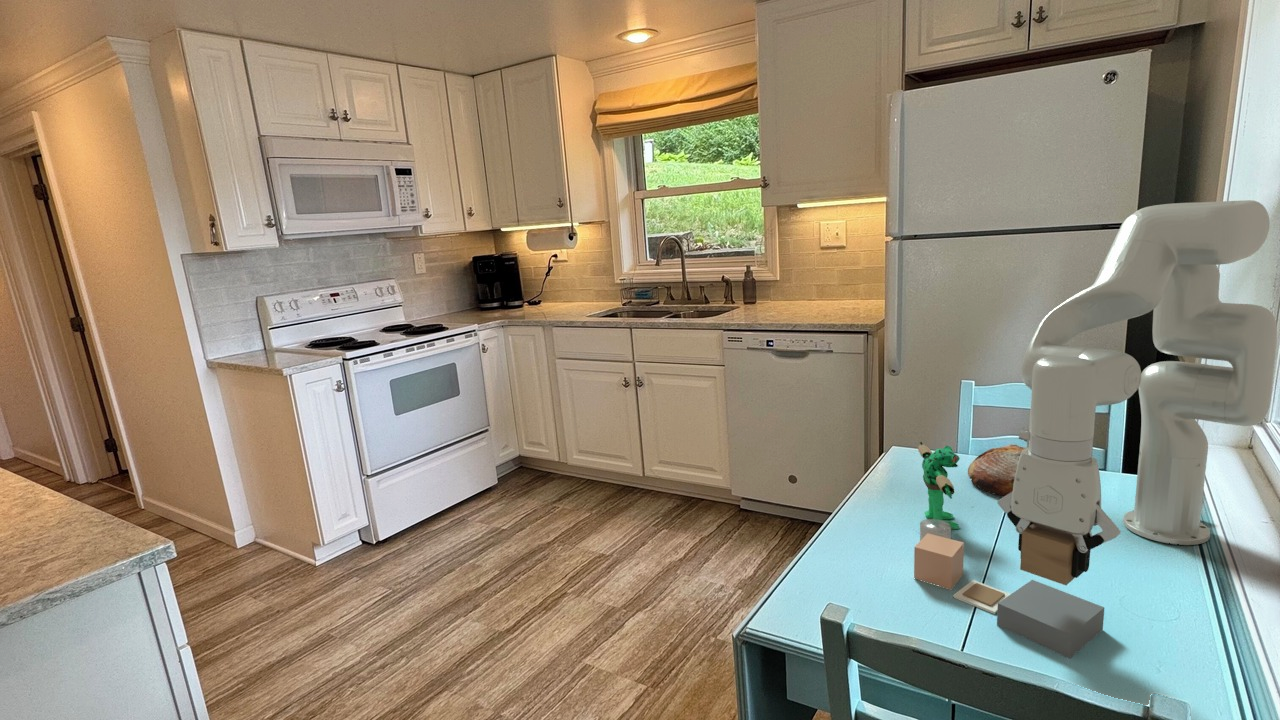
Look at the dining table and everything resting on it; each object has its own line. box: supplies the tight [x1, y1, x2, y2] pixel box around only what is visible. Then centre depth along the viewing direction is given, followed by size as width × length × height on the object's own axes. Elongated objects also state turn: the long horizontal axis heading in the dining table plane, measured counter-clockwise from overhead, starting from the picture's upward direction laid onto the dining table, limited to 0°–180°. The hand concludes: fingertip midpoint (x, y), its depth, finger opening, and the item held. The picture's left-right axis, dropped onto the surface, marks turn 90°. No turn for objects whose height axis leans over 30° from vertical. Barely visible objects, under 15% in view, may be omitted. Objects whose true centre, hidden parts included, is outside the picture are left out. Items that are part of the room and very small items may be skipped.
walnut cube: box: [1019, 523, 1076, 586], centre depth 95 cm, size 6×6×6 cm
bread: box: [967, 443, 1027, 498], centre depth 145 cm, size 16×20×10 cm
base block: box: [996, 579, 1105, 659], centre depth 98 cm, size 10×10×4 cm
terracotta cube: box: [913, 533, 965, 590], centre depth 113 cm, size 6×6×6 cm
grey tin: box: [919, 518, 952, 542], centre depth 119 cm, size 5×5×6 cm
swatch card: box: [952, 579, 1012, 615], centre depth 106 cm, size 6×6×1 cm
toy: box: [917, 441, 961, 530], centre depth 131 cm, size 26×6×15 cm, turn 168°
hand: (1052, 564), depth 96 cm, fingers closed on walnut cube, 6 cm apart
